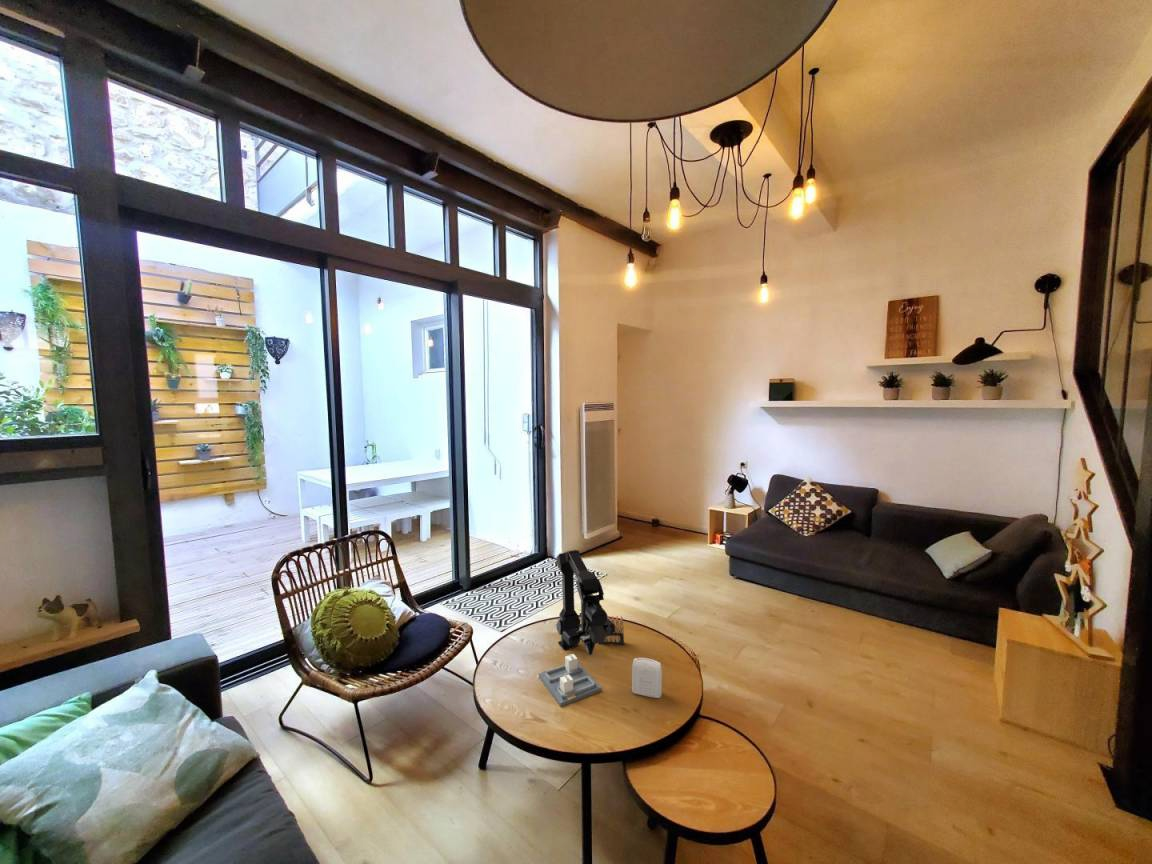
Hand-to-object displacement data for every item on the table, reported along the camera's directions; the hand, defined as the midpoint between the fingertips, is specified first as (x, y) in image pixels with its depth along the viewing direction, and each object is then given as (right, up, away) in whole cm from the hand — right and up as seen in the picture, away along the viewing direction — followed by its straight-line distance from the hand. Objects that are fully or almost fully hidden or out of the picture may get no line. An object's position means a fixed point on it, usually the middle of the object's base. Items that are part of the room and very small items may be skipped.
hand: (589, 654), depth 158 cm
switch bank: (-7, -11, +2) cm, 14 cm away
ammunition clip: (+10, -9, +27) cm, 30 cm away
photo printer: (+20, -12, -4) cm, 23 cm away
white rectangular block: (-7, -10, +8) cm, 14 cm away
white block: (-8, -11, -4) cm, 14 cm away
